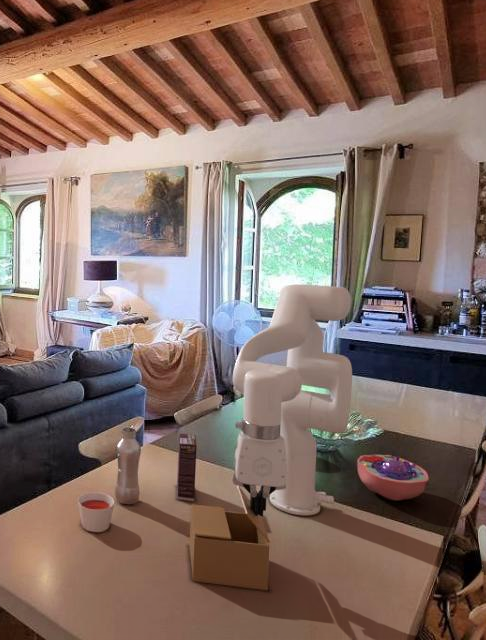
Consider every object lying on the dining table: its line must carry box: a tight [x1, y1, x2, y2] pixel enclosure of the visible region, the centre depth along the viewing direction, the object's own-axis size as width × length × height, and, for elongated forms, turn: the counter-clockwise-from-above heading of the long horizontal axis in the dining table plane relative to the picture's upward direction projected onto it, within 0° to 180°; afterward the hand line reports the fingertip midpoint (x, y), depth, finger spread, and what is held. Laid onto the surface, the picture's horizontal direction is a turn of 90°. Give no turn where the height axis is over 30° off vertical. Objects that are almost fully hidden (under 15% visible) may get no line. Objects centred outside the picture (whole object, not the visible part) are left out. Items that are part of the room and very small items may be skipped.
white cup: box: [77, 491, 115, 533], centre depth 130 cm, size 9×9×6 cm
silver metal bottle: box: [114, 427, 142, 505], centre depth 142 cm, size 6×7×20 cm
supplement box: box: [176, 433, 198, 502], centre depth 147 cm, size 9×5×16 cm, turn 168°
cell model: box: [356, 453, 430, 502], centre depth 149 cm, size 17×20×11 cm
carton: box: [189, 503, 270, 591], centre depth 114 cm, size 15×13×10 cm
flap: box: [236, 485, 271, 544], centre depth 112 cm, size 7×13×1 cm
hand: (257, 512), depth 112 cm, fingers closed
